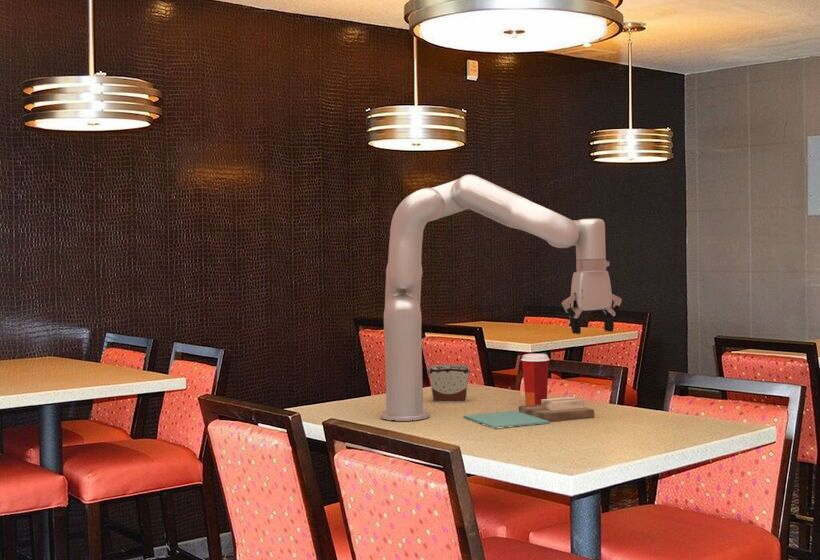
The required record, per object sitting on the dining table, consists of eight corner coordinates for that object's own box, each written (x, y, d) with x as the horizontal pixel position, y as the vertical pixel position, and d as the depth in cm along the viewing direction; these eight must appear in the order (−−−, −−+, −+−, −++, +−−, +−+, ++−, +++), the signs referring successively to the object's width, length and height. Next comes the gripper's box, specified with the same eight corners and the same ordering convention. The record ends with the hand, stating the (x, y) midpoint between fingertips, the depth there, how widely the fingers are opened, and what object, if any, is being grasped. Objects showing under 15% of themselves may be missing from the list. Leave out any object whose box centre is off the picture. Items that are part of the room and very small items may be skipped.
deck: (518, 414, 271) (518, 406, 270) (565, 409, 276) (565, 402, 276) (545, 422, 258) (545, 414, 257) (594, 417, 263) (594, 409, 263)
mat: (463, 417, 267) (463, 415, 267) (515, 412, 272) (515, 410, 272) (495, 429, 250) (494, 426, 250) (549, 423, 256) (549, 421, 256)
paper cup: (552, 404, 285) (551, 353, 285) (548, 408, 278) (547, 356, 277) (523, 403, 287) (522, 353, 287) (519, 408, 280) (518, 356, 279)
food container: (473, 398, 298) (472, 364, 298) (471, 402, 292) (470, 366, 292) (430, 398, 300) (429, 364, 300) (427, 402, 294) (427, 367, 294)
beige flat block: (541, 407, 268) (541, 399, 268) (571, 404, 272) (571, 396, 272) (553, 410, 263) (553, 402, 263) (583, 407, 266) (583, 399, 266)
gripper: (612, 265, 275) (613, 329, 276) (554, 267, 269) (556, 333, 269) (627, 265, 268) (629, 331, 269) (569, 268, 262) (570, 335, 262)
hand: (592, 332), depth 269 cm, fingers open, 9 cm apart
